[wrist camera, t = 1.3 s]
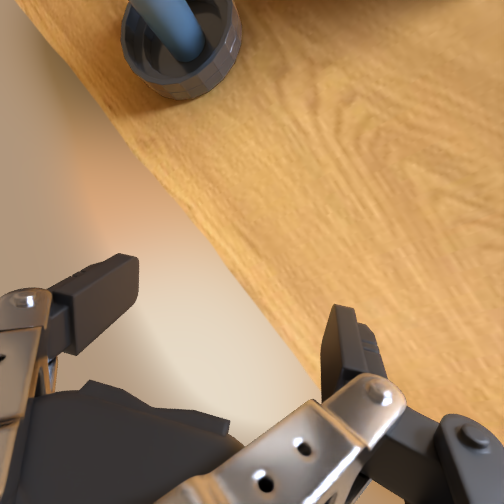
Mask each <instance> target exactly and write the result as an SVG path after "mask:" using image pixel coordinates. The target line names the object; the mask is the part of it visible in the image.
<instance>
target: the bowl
mask: <svg viewBox="0 0 504 504" xmlns="http://www.w3.org/2000/svg"><path fill="white" fill-rule="evenodd" d="M185 1H186V2H187V4H188V6H189V7H190V9H191V11H192V13H193V14H194V16H195V18H196V20H197V21H198V23H199V25H200V26H201V28H202V30H203V32H204V34H205V45H204V48H203V50H202V52H201V53H200V55H199V56H198V57H197V58H195V59H194V60H192V61H189V62H180V61H178V60H176V59H175V58H174V57H173V56H172V54H171V53H170V52H169V51H168V49H167V48H166V47H165V46H164V44H163V43H162V42H161V41H160V39H159V38H158V37H157V36H156V34H155V33H154V32H153V31H152V29H151V28H150V27H149V26H148V24H147V23H146V22H145V21H144V19H143V18H142V17H141V16H140V14H139V13H138V12H137V11H136V9H135V8H134V7H133V6H132V4H131V3H130V2H129V3H128V5H127V7H126V10H125V14H124V17H123V20H122V25H121V45H122V49H123V53H124V57H125V59H126V61H127V63H128V64H129V66H130V67H131V69H132V71H133V72H134V73H135V74H136V75H137V76H138V77H139V78H140V79H142V80H143V81H144V82H145V83H146V84H147V85H148V86H149V87H150V88H152V89H153V90H154V91H156V92H157V93H158V94H160V95H161V96H163V97H167V98H171V99H175V100H182V99H192V98H195V97H197V96H200V95H202V94H204V93H206V92H209V91H210V90H211V89H213V88H214V87H215V86H216V85H217V84H218V83H220V82H221V81H222V80H223V79H224V78H225V76H226V75H227V73H228V72H229V70H230V69H231V67H232V66H233V65H234V63H235V61H236V58H237V55H238V52H239V49H240V46H241V36H242V24H241V20H240V16H239V13H238V9H237V7H236V4H235V2H234V0H185Z"/></svg>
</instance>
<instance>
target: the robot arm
mask: <svg viewBox="0 0 504 504" xmlns="http://www.w3.org/2000/svg"><path fill="white" fill-rule="evenodd" d="M138 288H139V260H138V258H137V257H134V256H129V255H125V254H121V253H118V254H116V255H114V256H112V257H111V258H109V259H107V260H105V261H103V262H100V263H96V264H93V265H90V266H88V267H86V268H84V269H82V270H81V271H80V272H77V273H75V274H73V275H72V277H71V276H70V277H68V278H66V279H64V280H62V281H61V282H59V283H57V284H55V285H53V286H52V287H50V288H48V289H42V288H23V289H18V290H14V291H11V292H9V293H7V294H5V295H3V296H2V297H0V504H354V503H355V502H356V501H357V499H358V498H359V497H360V495H361V494H362V493H363V491H364V490H365V489H366V488H367V486H368V485H369V484H370V482H371V481H372V480H374V481H375V482H377V483H378V484H380V485H382V486H383V487H385V488H386V489H388V490H390V491H391V492H393V493H394V494H396V495H398V496H399V497H401V498H402V499H404V501H405V504H504V447H503V445H502V444H501V443H500V441H499V440H498V439H497V438H496V437H495V436H494V435H493V434H492V433H491V432H490V431H489V430H487V429H486V428H485V427H484V426H482V425H481V424H479V423H477V422H476V421H474V420H472V419H470V418H468V417H465V416H462V415H458V414H448V415H445V416H444V417H443V418H442V420H441V421H440V423H438V422H436V421H434V420H432V419H430V418H428V417H426V416H424V415H422V414H420V413H418V412H416V411H414V410H413V409H411V408H410V407H408V406H407V402H406V398H405V396H404V394H403V393H402V391H401V390H400V389H399V388H398V387H397V386H396V385H395V384H393V383H392V382H391V381H389V380H388V378H387V375H386V371H385V368H384V365H383V362H382V358H381V355H380V354H379V348H378V346H377V342H376V339H375V335H374V334H373V332H372V331H371V330H370V329H369V328H368V327H367V325H365V324H361V323H357V319H356V315H355V311H354V308H350V307H345V306H341V305H337V304H334V305H333V306H332V309H331V312H330V316H329V319H328V322H327V326H326V329H325V332H324V336H323V340H322V344H321V353H320V356H321V395H322V404H319V403H318V402H317V401H316V400H314V399H311V400H308V401H307V402H305V403H304V404H303V405H301V406H300V407H298V408H297V409H296V410H294V411H293V412H292V413H290V414H289V415H288V416H286V417H285V418H284V419H282V420H281V421H280V422H278V423H277V424H276V425H274V426H273V427H271V428H270V429H269V430H267V431H266V432H265V433H263V434H262V435H261V436H259V437H258V438H257V439H255V440H254V441H252V442H251V443H250V444H249V445H247V446H246V447H245V446H244V445H243V444H241V443H240V442H239V441H238V440H236V439H235V438H234V437H232V436H231V435H229V434H228V430H229V425H230V420H226V419H223V418H219V417H216V416H213V415H209V414H206V413H202V412H199V411H195V410H182V409H166V408H154V407H151V406H149V405H147V404H146V403H144V402H142V401H141V400H139V399H138V398H136V397H134V396H133V395H131V394H130V393H128V392H126V391H125V390H123V389H120V388H116V387H113V386H110V385H106V384H103V383H99V382H96V381H93V380H89V381H88V382H87V383H86V384H85V385H84V386H83V387H82V388H81V389H80V390H72V391H61V392H55V386H56V377H57V368H58V357H57V355H59V354H60V353H61V352H64V353H68V354H71V355H75V356H77V355H78V354H79V353H80V352H82V351H83V350H84V349H85V348H86V347H87V346H88V345H89V344H90V343H91V342H93V341H94V340H95V339H96V338H97V337H98V336H99V335H100V334H101V333H103V332H104V331H105V330H106V329H107V328H108V327H109V326H110V325H111V324H113V323H114V322H115V321H116V320H117V319H118V318H119V317H120V316H121V315H122V314H124V313H125V312H126V311H127V310H128V309H129V308H130V307H131V306H132V305H133V304H134V303H135V301H136V299H137V296H138Z"/></svg>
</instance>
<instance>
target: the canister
mask: <svg viewBox="0 0 504 504" xmlns="http://www.w3.org/2000/svg"><path fill="white" fill-rule="evenodd" d="M128 1H129V2H130V3H131V4H132V6H133V7H134V8H135V9H136V11H137V12H138V13H139V14H140V16H141V17H142V18H143V19H144V21H145V22H146V23H147V24H148V26H149V27H150V28H151V29H152V31H153V32H154V33H155V34H156V36H157V37H158V38H159V39H160V41H161V42H162V43H163V44H164V46H165V47H166V48H167V49H168V51H169V52H170V53H171V54H172V56H173V57H174V58H175V59H176V60H178V61H180V62H189V61H192V60H194V59H195V58H197V57H198V56H199V55H200V53H201V52H202V50H203V48H204V45H205V34H204V32H203V30H202V28H201V26H200V25H199V23H198V21H197V20H196V18H195V16H194V14H193V13H192V11H191V9H190V7H189V6H188V4H187V2H186V1H185V0H128Z"/></svg>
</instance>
